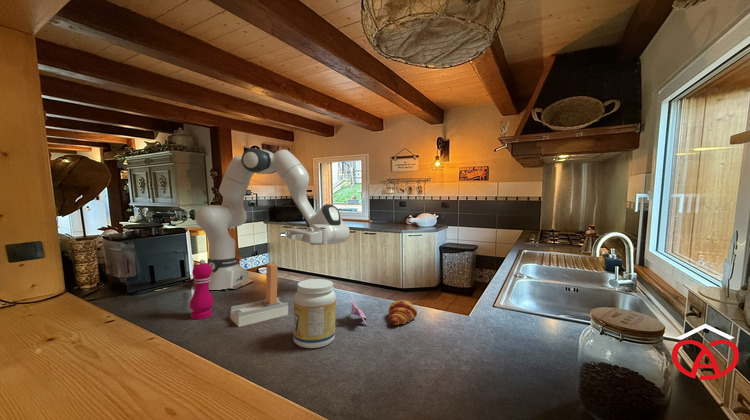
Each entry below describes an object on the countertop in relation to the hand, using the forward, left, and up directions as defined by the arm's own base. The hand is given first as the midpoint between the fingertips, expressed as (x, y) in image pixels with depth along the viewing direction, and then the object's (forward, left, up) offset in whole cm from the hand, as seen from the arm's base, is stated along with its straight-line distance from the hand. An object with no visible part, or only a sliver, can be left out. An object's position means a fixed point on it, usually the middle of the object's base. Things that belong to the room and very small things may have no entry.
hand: (285, 235), depth 114 cm
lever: (+9, +1, -24) cm, 26 cm away
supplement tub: (+22, +26, -28) cm, 44 cm away
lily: (+6, +33, -28) cm, 44 cm away
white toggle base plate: (+13, -1, -28) cm, 30 cm away
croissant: (-5, +47, -28) cm, 55 cm away
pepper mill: (+20, -20, -28) cm, 39 cm away
